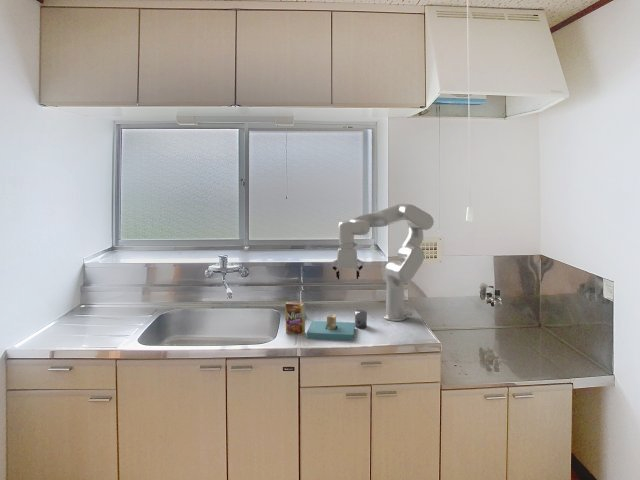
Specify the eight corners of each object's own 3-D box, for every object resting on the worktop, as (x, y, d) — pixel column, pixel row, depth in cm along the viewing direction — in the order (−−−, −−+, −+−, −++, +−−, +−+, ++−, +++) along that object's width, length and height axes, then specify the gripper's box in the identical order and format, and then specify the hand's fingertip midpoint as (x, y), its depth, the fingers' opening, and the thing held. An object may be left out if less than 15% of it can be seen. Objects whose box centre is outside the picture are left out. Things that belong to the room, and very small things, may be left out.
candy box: (285, 333, 187) (284, 303, 185) (288, 330, 191) (288, 301, 189) (302, 335, 184) (302, 305, 182) (305, 332, 189) (305, 302, 186)
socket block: (354, 328, 194) (354, 322, 193) (353, 340, 178) (353, 334, 177) (312, 326, 196) (311, 320, 196) (306, 338, 181) (306, 332, 180)
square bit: (336, 332, 189) (336, 314, 188) (335, 335, 185) (335, 317, 184) (328, 331, 189) (328, 314, 188) (326, 334, 185) (326, 316, 184)
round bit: (366, 324, 199) (366, 309, 198) (366, 329, 193) (366, 313, 192) (355, 324, 199) (355, 309, 198) (354, 328, 194) (354, 313, 192)
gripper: (363, 244, 195) (364, 276, 198) (330, 244, 197) (331, 277, 200) (364, 246, 188) (365, 280, 190) (329, 247, 190) (330, 280, 192)
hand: (347, 278), depth 195 cm, fingers open, 9 cm apart
